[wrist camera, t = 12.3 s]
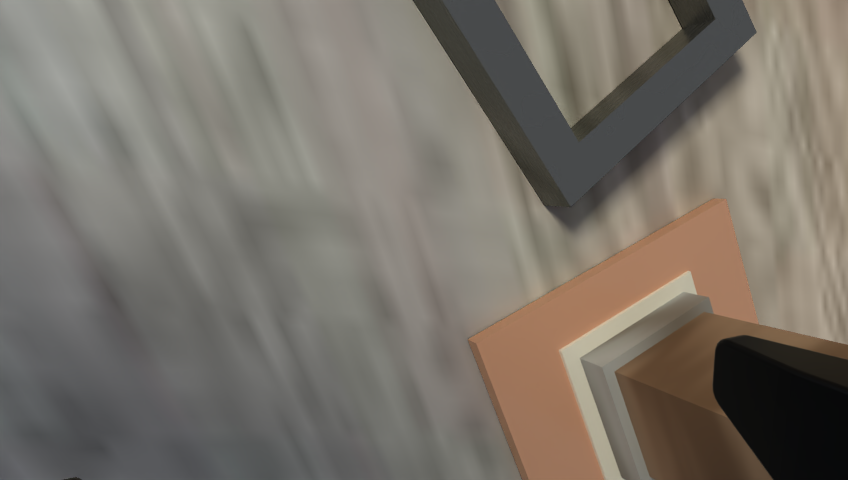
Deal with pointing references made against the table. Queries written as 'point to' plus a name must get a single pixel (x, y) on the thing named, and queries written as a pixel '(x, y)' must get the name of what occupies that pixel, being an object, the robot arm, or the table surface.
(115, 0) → the table surface
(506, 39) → the frame
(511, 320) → the pad
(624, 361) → the walnut post
